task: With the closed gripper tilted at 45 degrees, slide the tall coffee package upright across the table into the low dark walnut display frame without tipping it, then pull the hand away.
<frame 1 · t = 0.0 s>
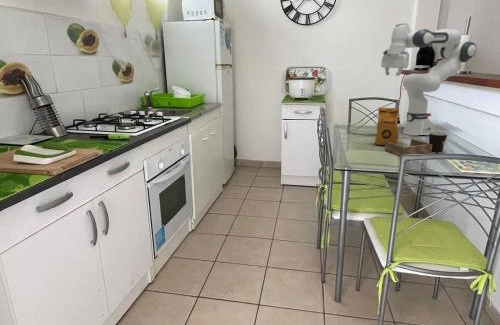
hand: (392, 75, 204), 39 cm above the table, tool pointing down, fingers open, 8 cm apart
display frame: (407, 151, 180), on the table
coffee mug: (437, 151, 180), on the table
coffee package: (385, 145, 195), on the table
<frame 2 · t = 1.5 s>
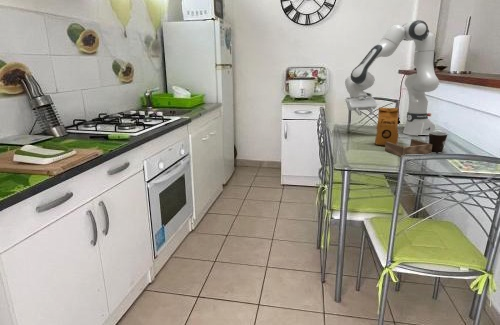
hand: (366, 114, 209), 15 cm above the table, tool tilted 45°, fingers open, 8 cm apart
nothing on the table moved.
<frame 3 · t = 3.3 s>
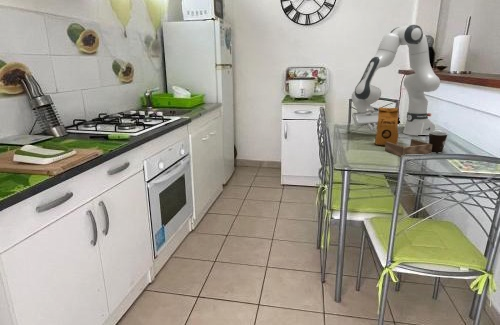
hand: (373, 130, 204), 7 cm above the table, tool tilted 45°, fingers closed
nothing on the table moved.
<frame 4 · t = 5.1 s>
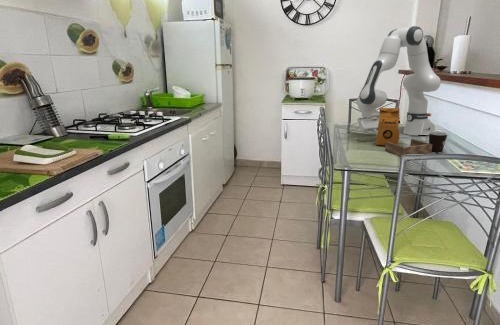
hand: (379, 135, 199), 4 cm above the table, tool tilted 45°, fingers closed
coffee package: (386, 145, 194), on the table, touching gripper
everything else where it was.
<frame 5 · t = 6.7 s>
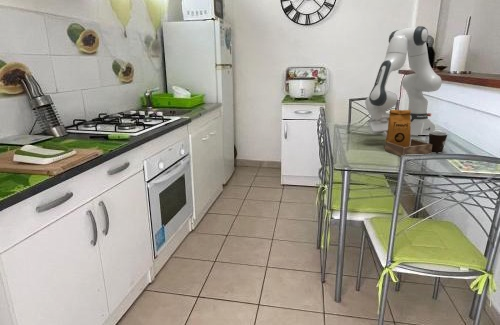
hand: (389, 138, 191), 4 cm above the table, tool tilted 45°, fingers closed
coffee package: (396, 148, 187), on the table, touching gripper
everything else where it was.
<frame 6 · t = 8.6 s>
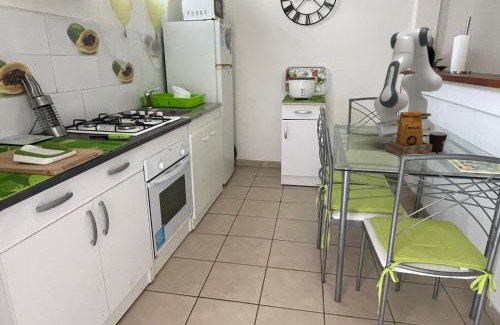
hand: (399, 141, 184), 4 cm above the table, tool tilted 45°, fingers closed
coffee package: (407, 152, 180), on the table, touching display frame, gripper
everything else where it was.
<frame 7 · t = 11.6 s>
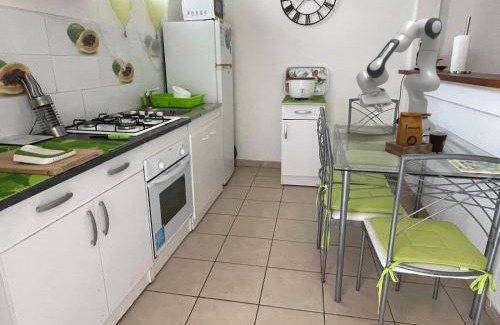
hand: (380, 111, 197), 19 cm above the table, tool tilted 45°, fingers closed
coffee package: (407, 152, 180), on the table
everything else where it was.
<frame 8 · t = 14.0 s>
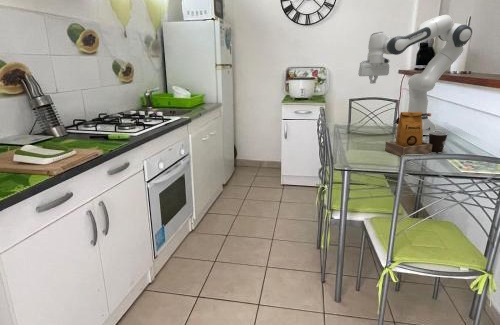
hand: (372, 83, 206), 34 cm above the table, tool pointing down, fingers closed
nothing on the table moved.
at the end: coffee package 0.8 cm from the target spot on the display frame, point 0.0 cm above the display frame's base; coffee package tilted 0° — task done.
